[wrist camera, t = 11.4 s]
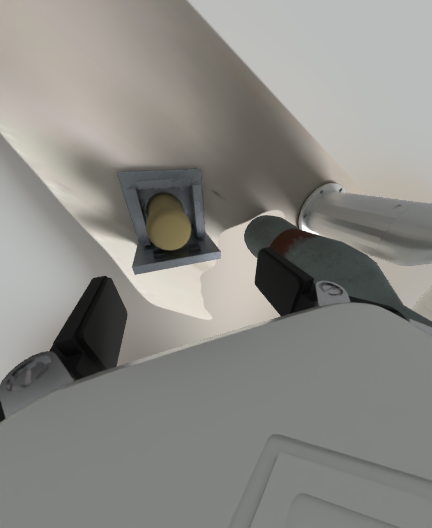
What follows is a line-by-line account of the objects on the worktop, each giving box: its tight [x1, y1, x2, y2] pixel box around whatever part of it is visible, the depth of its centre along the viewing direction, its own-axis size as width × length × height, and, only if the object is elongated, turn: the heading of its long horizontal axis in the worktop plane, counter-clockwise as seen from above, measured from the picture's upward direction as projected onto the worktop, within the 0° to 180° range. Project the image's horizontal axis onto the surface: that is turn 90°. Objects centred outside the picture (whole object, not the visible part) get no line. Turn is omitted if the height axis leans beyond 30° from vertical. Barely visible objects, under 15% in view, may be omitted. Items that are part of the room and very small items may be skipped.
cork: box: [146, 192, 191, 250], centre depth 22 cm, size 6×6×11 cm
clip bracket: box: [117, 169, 221, 275], centre depth 23 cm, size 12×12×10 cm
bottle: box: [244, 215, 432, 327], centre depth 24 cm, size 9×9×30 cm
